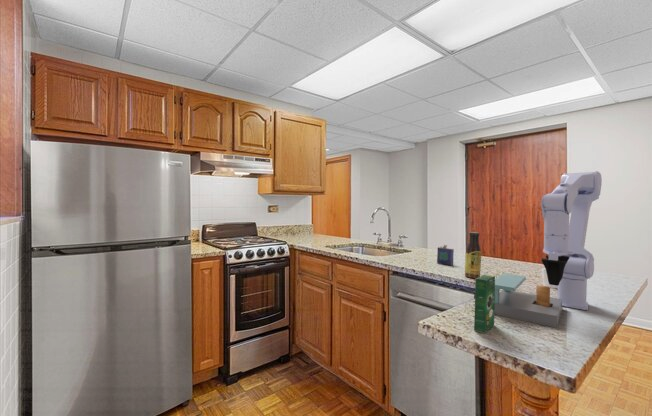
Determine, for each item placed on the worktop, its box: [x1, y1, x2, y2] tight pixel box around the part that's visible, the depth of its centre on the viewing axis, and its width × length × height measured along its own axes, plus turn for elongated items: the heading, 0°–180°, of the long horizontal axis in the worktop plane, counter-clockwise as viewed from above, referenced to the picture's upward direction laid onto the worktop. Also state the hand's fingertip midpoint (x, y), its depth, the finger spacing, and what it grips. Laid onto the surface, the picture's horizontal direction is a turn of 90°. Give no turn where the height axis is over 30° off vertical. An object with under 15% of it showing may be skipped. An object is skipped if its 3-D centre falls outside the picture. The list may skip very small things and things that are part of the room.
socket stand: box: [494, 273, 563, 328], centre depth 92 cm, size 20×16×8 cm
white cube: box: [541, 267, 558, 290], centre depth 122 cm, size 7×7×7 cm
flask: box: [436, 244, 455, 267], centre depth 166 cm, size 9×3×11 cm, turn 37°
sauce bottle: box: [464, 231, 482, 279], centre depth 136 cm, size 6×6×20 cm
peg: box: [535, 284, 551, 307], centre depth 89 cm, size 3×3×8 cm
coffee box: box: [473, 274, 496, 334], centre depth 78 cm, size 8×3×13 cm, turn 137°
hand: (555, 282), depth 88 cm, fingers open, 7 cm apart
